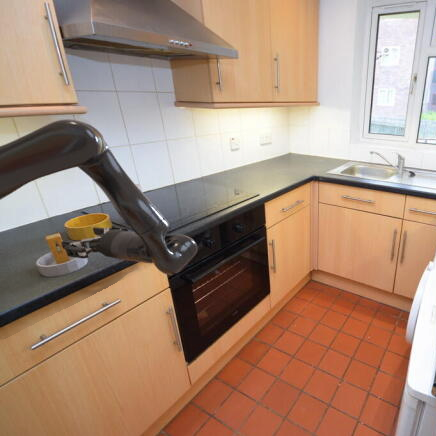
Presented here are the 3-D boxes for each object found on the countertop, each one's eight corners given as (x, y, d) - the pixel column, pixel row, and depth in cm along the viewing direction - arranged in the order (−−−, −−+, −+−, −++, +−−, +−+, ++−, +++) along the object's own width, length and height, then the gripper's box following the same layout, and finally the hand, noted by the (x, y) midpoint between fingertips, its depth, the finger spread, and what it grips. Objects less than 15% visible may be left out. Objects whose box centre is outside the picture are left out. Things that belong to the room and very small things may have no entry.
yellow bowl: (93, 241, 105) (89, 228, 103) (59, 239, 106) (54, 226, 104) (121, 225, 117) (117, 214, 115) (90, 224, 118) (86, 212, 116)
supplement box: (71, 260, 92) (60, 232, 88) (72, 265, 90) (60, 236, 86) (57, 264, 90) (45, 235, 86) (58, 269, 88) (45, 239, 84)
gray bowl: (65, 278, 85) (61, 267, 83) (30, 275, 86) (25, 265, 84) (97, 257, 95) (93, 248, 94) (65, 255, 96) (61, 246, 95)
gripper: (143, 221, 84) (99, 215, 88) (95, 245, 71) (46, 236, 75) (150, 245, 87) (107, 237, 91) (104, 271, 74) (57, 261, 78)
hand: (79, 237), depth 83 cm, fingers open, 8 cm apart
